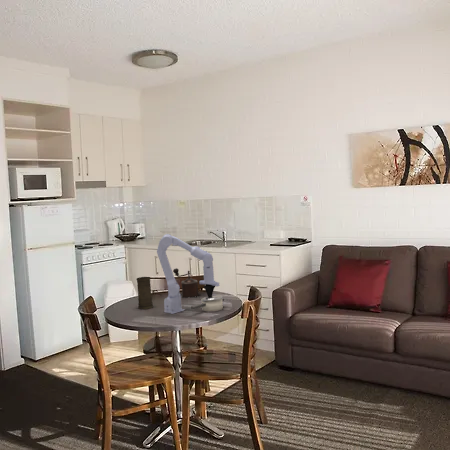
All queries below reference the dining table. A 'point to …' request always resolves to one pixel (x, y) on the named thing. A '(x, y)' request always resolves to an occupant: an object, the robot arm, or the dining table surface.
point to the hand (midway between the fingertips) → (210, 297)
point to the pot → (210, 305)
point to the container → (144, 293)
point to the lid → (212, 298)
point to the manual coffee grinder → (188, 285)
